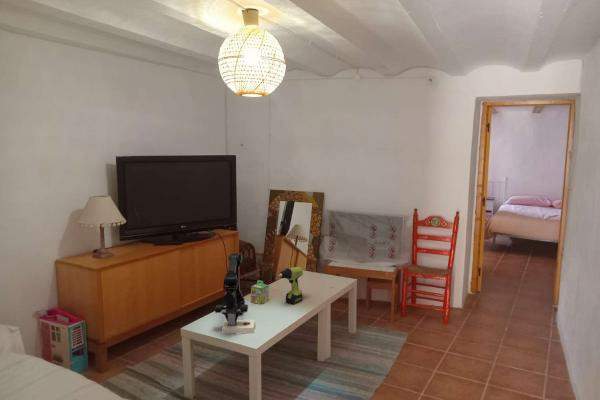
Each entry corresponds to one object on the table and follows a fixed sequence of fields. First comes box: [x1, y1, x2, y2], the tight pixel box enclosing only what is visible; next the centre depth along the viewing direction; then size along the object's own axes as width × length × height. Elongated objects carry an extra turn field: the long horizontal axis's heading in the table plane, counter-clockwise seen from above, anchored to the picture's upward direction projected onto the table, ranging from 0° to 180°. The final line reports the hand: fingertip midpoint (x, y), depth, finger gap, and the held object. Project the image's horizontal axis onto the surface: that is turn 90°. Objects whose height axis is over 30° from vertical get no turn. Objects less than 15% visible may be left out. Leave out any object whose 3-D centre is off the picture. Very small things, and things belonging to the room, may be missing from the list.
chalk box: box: [250, 279, 270, 305], centre depth 303 cm, size 9×9×15 cm
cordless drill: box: [278, 266, 304, 306], centre depth 297 cm, size 23×7×25 cm, turn 142°
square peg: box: [228, 312, 236, 326], centre depth 258 cm, size 4×4×8 cm
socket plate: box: [221, 319, 256, 334], centre depth 259 cm, size 12×18×3 cm, turn 91°
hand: (232, 322), depth 258 cm, fingers closed on square peg, 4 cm apart
